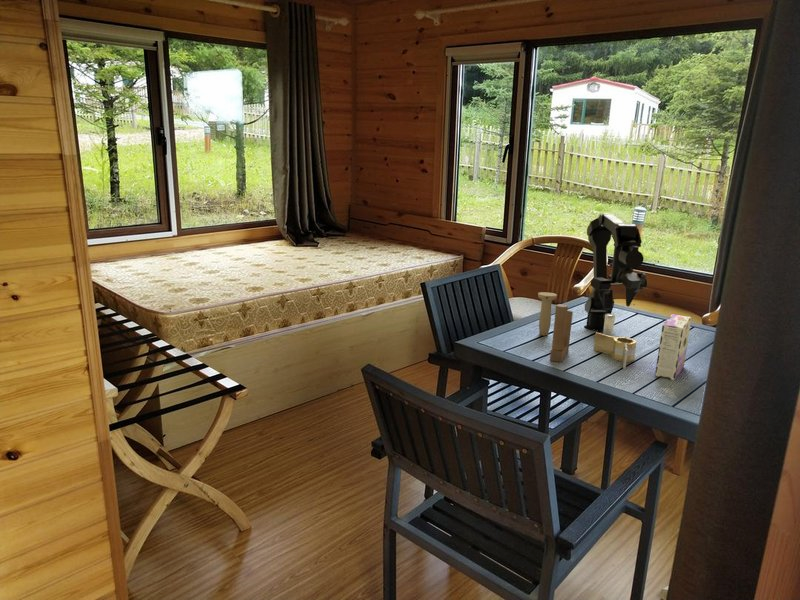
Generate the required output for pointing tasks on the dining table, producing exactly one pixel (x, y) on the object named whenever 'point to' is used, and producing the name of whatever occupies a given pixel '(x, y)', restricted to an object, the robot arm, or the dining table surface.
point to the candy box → (673, 346)
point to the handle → (545, 312)
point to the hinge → (616, 347)
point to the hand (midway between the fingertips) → (616, 307)
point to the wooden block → (561, 333)
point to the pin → (609, 324)
